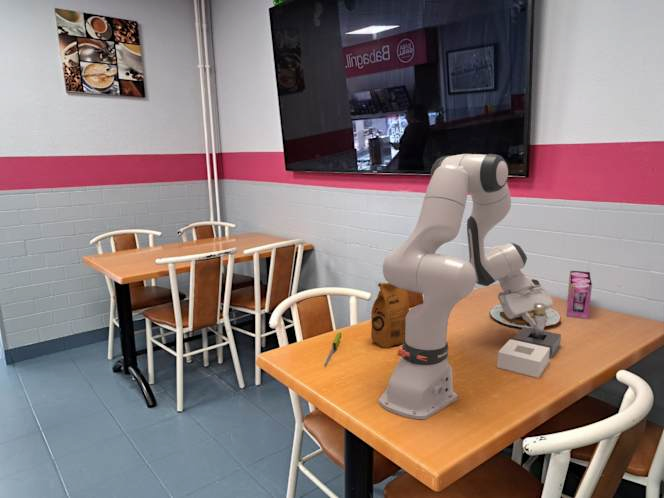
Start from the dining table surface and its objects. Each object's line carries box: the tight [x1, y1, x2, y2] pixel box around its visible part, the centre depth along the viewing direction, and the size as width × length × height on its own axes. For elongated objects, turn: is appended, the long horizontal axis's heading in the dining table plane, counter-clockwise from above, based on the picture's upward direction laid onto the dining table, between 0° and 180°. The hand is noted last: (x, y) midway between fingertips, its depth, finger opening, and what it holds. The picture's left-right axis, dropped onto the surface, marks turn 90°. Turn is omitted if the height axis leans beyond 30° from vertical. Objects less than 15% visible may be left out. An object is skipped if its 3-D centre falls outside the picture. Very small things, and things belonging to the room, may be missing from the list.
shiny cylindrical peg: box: [531, 303, 546, 340], centre depth 155 cm, size 4×4×15 cm
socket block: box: [512, 327, 562, 359], centre depth 156 cm, size 12×12×4 cm
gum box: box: [566, 270, 593, 320], centre depth 190 cm, size 24×8×14 cm, turn 153°
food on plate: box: [489, 303, 562, 328], centre depth 182 cm, size 25×25×7 cm
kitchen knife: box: [324, 332, 342, 367], centre depth 154 cm, size 22×1×3 cm, turn 166°
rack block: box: [496, 339, 550, 379], centre depth 143 cm, size 12×12×5 cm
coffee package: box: [370, 282, 410, 349], centre depth 162 cm, size 10×12×22 cm
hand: (540, 324), depth 154 cm, fingers closed on shiny cylindrical peg, 4 cm apart
